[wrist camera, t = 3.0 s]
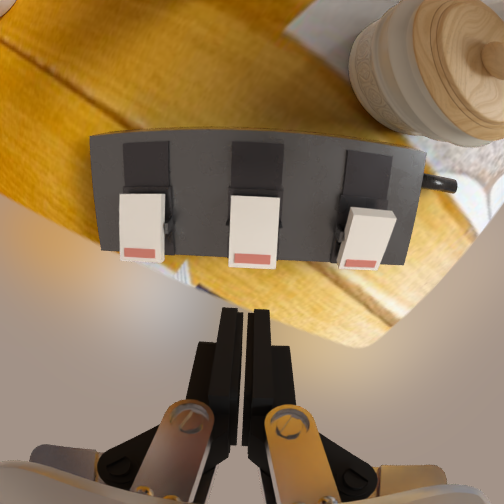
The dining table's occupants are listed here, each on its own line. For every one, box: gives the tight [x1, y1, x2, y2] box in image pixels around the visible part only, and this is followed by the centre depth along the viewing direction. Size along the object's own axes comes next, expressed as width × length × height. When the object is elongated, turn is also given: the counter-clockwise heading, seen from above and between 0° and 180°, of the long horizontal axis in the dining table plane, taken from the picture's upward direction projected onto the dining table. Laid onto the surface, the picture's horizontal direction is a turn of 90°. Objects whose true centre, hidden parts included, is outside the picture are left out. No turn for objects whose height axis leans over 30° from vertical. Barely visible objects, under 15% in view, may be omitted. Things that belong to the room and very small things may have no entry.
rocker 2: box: [228, 196, 280, 269], centre depth 26 cm, size 4×6×2 cm, turn 178°
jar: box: [348, 0, 504, 148], centre depth 17 cm, size 13×13×18 cm
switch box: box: [90, 127, 457, 265], centre depth 28 cm, size 38×12×7 cm, turn 88°
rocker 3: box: [337, 207, 397, 270], centre depth 26 cm, size 4×6×2 cm, turn 177°
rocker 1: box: [119, 194, 165, 263], centre depth 26 cm, size 4×6×2 cm, turn 178°
